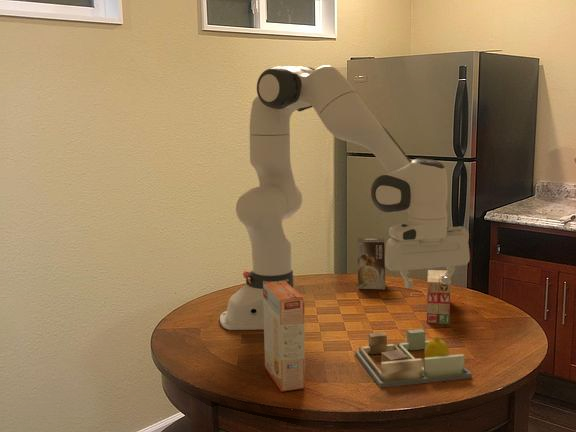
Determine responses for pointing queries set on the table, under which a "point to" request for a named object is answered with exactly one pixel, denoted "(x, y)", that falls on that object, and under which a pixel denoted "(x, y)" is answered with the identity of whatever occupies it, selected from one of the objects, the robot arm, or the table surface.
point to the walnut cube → (393, 356)
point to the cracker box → (284, 335)
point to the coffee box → (371, 263)
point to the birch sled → (390, 368)
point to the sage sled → (432, 364)
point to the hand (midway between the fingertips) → (427, 285)
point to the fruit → (436, 348)
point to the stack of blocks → (438, 298)
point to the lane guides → (412, 381)
